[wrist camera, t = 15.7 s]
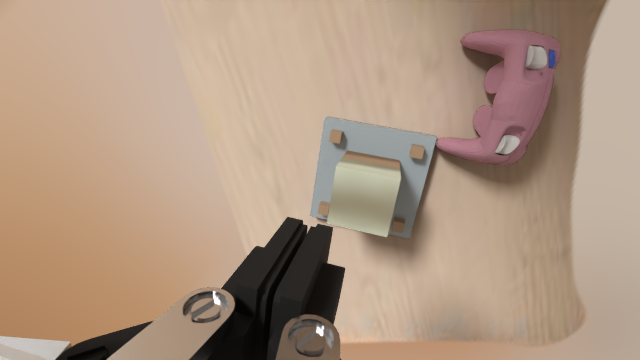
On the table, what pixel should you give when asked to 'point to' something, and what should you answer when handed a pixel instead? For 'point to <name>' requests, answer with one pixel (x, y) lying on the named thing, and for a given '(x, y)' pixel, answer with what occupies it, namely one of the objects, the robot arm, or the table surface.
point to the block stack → (364, 193)
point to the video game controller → (509, 95)
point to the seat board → (379, 142)
